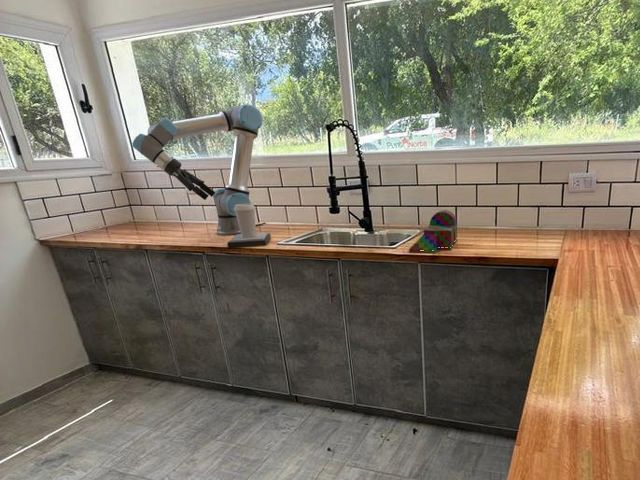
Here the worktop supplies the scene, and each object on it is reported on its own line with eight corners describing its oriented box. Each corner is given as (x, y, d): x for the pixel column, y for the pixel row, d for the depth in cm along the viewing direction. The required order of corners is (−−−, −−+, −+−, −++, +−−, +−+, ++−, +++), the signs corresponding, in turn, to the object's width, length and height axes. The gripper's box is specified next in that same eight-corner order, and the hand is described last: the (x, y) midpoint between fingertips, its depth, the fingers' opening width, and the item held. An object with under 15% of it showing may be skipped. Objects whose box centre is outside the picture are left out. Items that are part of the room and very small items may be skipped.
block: (421, 240, 212) (420, 209, 207) (456, 240, 209) (456, 209, 204) (409, 252, 189) (408, 218, 184) (449, 253, 186) (449, 218, 181)
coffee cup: (262, 234, 220) (258, 203, 214) (254, 238, 211) (249, 205, 205) (244, 234, 221) (238, 203, 215) (234, 238, 212) (229, 206, 206)
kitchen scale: (235, 240, 224) (234, 234, 223) (271, 238, 226) (270, 232, 225) (228, 247, 208) (226, 241, 207) (266, 245, 210) (265, 238, 209)
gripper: (172, 169, 215) (211, 199, 223) (154, 172, 193) (198, 205, 201) (181, 156, 214) (220, 187, 222) (164, 158, 192) (208, 192, 200)
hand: (210, 196), depth 212 cm, fingers open, 13 cm apart
